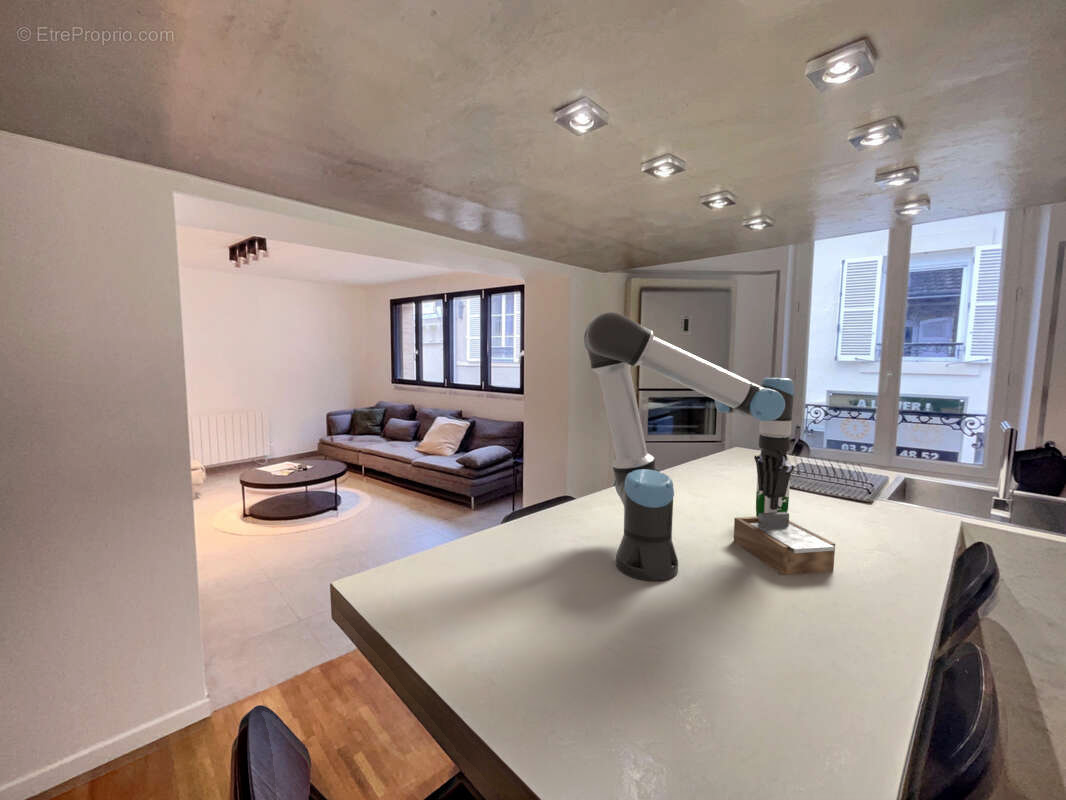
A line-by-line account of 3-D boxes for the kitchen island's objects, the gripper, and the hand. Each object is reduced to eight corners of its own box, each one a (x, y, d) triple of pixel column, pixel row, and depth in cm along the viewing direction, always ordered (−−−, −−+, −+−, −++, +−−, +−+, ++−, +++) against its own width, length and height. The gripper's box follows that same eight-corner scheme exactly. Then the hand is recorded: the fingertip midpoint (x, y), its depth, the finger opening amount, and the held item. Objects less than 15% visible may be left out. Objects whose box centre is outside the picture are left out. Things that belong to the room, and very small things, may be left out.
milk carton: (758, 515, 149) (761, 456, 147) (789, 521, 144) (792, 460, 142) (752, 523, 142) (755, 461, 140) (784, 529, 137) (788, 465, 135)
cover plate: (794, 553, 106) (795, 535, 106) (749, 526, 123) (750, 511, 122) (834, 550, 108) (835, 533, 107) (784, 524, 124) (785, 509, 124)
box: (781, 574, 108) (783, 547, 107) (733, 541, 128) (734, 517, 127) (833, 571, 110) (835, 543, 109) (777, 538, 130) (779, 515, 129)
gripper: (805, 439, 114) (799, 527, 117) (771, 430, 127) (766, 510, 129) (779, 439, 113) (773, 529, 115) (747, 431, 126) (742, 512, 128)
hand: (769, 519), depth 122 cm, fingers closed
